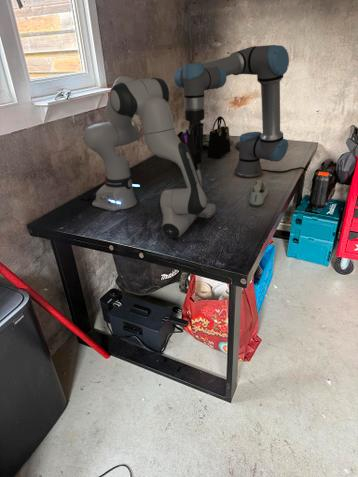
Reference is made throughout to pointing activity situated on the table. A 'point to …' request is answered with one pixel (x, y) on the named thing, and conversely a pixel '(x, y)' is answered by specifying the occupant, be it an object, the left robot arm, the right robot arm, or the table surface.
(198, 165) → the cap
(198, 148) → the right robot arm
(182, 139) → the boot
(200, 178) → the bottle
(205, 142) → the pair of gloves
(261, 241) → the table surface
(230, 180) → the table surface
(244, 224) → the table surface
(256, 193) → the ballet flat
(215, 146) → the handbag
